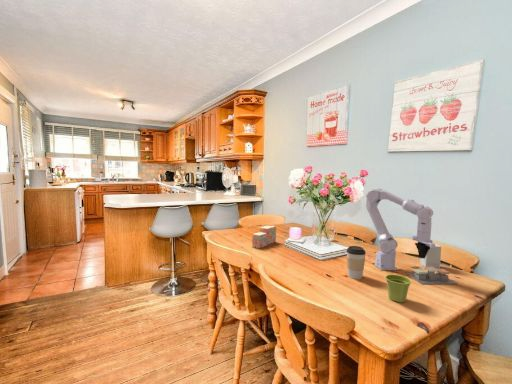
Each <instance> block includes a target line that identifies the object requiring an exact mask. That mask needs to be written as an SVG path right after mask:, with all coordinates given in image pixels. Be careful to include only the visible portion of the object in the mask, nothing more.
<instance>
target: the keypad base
mask: <svg viewBox="0 0 512 384" xmlns="http://www.w3.org/2000/svg"><path fill="white" fill-rule="evenodd" d="M405 274H406V275H407V276H408V277H410V278H412V279H413V280H415V281H417V282H418V283H419V284H421V285H458V283H457V282H455V281H454V280H452V279H451V278H449V274H446V275H440V274H439V273H438V272H435V275H429V274H428V272H427V274H423V275H418V274H417V273H416V272H414V273H412V272H411V273H410V272H409V273H408V272H407V273H405Z"/></svg>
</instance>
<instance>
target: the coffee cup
mask: <svg viewBox="0 0 512 384" xmlns="http://www.w3.org/2000/svg"><path fill="white" fill-rule="evenodd" d="M366 254H367V252H366V250H365V249H364V248H363V247H361V246H358V245H351V246H350V245H349V246H348V248H347V249H346V264H347V265H346V267H347V277H348V278H349V279H353V280H362V279H363V275H364V268H365V262H366Z"/></svg>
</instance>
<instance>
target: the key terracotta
mask: <svg viewBox="0 0 512 384" xmlns="http://www.w3.org/2000/svg"><path fill="white" fill-rule="evenodd" d="M437 273H439V274H440V275H450V271H448V270H447V269H443V268H440V269H438V272H437Z"/></svg>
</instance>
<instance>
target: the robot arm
mask: <svg viewBox="0 0 512 384" xmlns="http://www.w3.org/2000/svg"><path fill="white" fill-rule="evenodd" d="M365 197H366V201H365V202H366V203H365V204H366V205H365V207H366V210H367V211H368V214H369V216H370V219H371V221H372V223H373V226H374V228H375V230H376V232H377V234H378V242H379V249H380V250H379V251H376V253H375V259H374V260H375V262H374V266H375V267H377V269H379V270H381V271H399V268H397V267H396V258H397V257H396V254H397V252H396V249H397V248H398V244H399V243H398V242H397V240H396V239H395V238H394V237H393V235H392V234H391V233H390V232H389V230H388V228H387V226H386V223H385V222H384V221H385V220H384V219H383V217H382V214H381V212H380V211H379V208H378V205H379V203H380V202H381V201H382V200H388V201H390V202H393V203H395V204H397V205H400V206H401V207H402V209H403V210H404V211H406V212H409V213H410V214H412V215H414V216H417V219H418V220H417V226H416V227H417V229H416V235H413V236H412V239H411V241H416V242H415V243H414V245H415V247H416V250H417V252H418V256H419V257H418V258H425V257H426V254H427V252H428V250H429V249H430V248H435V244H436V243H435V244H434V242H433V240H432V239H431V236H432V235H431V234H432V217H433V215H434V210H433V209H432V208H431V207H429V206H425V205H424V204H419V203H417V202H416V201H415V200H414V199H406V200H405V199H403V198H401V197H400V196H397V195H395V194H394V193H391V192H390V191H387V190H384V189H382V188H376V189H374V188H373V189H372V188H371V189H369V190H368V192H367V193H366V195H365Z"/></svg>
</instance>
